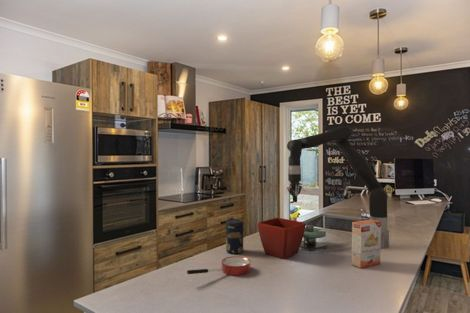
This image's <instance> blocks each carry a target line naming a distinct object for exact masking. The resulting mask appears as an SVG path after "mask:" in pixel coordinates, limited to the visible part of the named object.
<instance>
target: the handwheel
mask: <svg viewBox="0 0 470 313" xmlns="http://www.w3.org/2000/svg"><path fill="white" fill-rule="evenodd" d="M297 218H298V217H295V216H292V217H291V219H290V220H293V221H297V220H298V219H297ZM325 237H327V231H326V230H324V229H322V228H318V227H314V225H313V224H306V226H305V231H304V235H303V239H304V238H316V239H321V238H322V239H323V238H325Z"/></svg>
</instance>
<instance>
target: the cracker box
mask: <svg viewBox="0 0 470 313" xmlns="http://www.w3.org/2000/svg"><path fill="white" fill-rule="evenodd" d="M351 224H352V225H351V265H352V266H354V267H356V268H359V269H363V268H367V267H372V266H377V265H380V264H381V249H382V248H381V222H380V221H376V220H370V219H366V220H359V221H352V223H351Z"/></svg>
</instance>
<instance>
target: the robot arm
mask: <svg viewBox="0 0 470 313" xmlns="http://www.w3.org/2000/svg"><path fill="white" fill-rule="evenodd" d="M352 134H353V132H352V129H351V128H350V127H349V126H346V125H341V126H338V127H337V128H334V129H331V130H328V131H325V132H321V133H317V134H313V135H308V136H305V137H301V138H296V139H291V140H289V141H288V142H287V144H286V149H287V150H288V151H290V156H288V169H287V170H288V171H287V172H288V173H287V178H288V182H289V186H288V187H287V188H286V189H287V191H288V194H289V195H290V196H292V203H298V196H299V195H300V194H301V191H302V188H303V185H300V184H301V181H302V166H301V156H302V151H303V150H304V149H306V150H307V149H311V148H315V147H319V146H321V145H324V144H326V143H329V142H332V141H334V143H335V144H336V145H337V147H338V149H340V151H341V152H342V154H343V155H344V157H345V159H346V160H347V162H348V163H349V165H350V167H351V169H352V170H353V172H354V174H355V175H356V176H357V177H358V179H359V180H361V182H362V183H363V184H364V185H365V187H366V189H367V191H368V193H369V196H368V198H369V199H368V200H369V206H368V208H369V220H376V221H380V222H381V249H386V248H388V247H390V230H389V229H388V198H389V195H388V193H387V190H385V189H384V187H383V186H382V184H381V183H380V181H378V179H377V178H376V175H375V173H374V172H373V169H372V167H371V166H370V164H369V162H368V161H367V159H366V157H365V156H364V155H363V154H361V153H360V152H359V151H357V150H356V149H355V148H354V147H353V146H352V145H351V143H350V141H349V139H350V138H351V136H352Z"/></svg>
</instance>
